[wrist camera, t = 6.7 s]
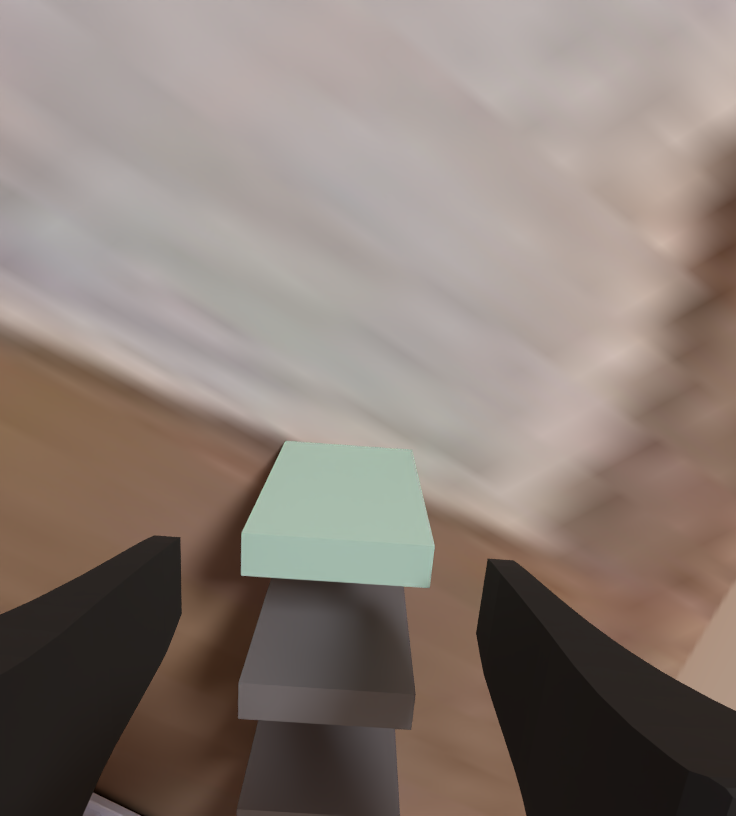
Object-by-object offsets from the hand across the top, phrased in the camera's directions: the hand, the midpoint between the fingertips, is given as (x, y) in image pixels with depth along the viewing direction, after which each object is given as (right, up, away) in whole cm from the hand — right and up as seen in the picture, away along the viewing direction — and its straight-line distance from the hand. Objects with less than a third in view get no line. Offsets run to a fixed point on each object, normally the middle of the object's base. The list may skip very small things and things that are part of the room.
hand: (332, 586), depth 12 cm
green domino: (0, +2, +8) cm, 8 cm away
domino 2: (-1, -7, +10) cm, 12 cm away
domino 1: (0, -2, +9) cm, 9 cm away
